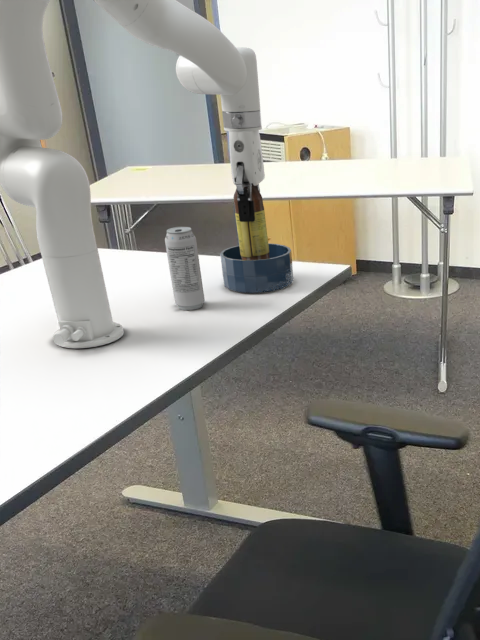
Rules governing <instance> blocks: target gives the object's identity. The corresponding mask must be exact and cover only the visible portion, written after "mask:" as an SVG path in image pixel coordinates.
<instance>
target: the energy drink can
mask: <svg viewBox="0 0 480 640" xmlns="http://www.w3.org/2000/svg"><path fill="white" fill-rule="evenodd" d="M165 232H166V235H165V238H164V243H165V250H166V256H167V262H168V269H169V275H170V281H171V287H172V294H173V300H174V304H175V305H176V306H177V307H178V309H179V310H181V311H194V310H198V309H201V308H202V307H203V306H204V304H203V303H205V302H206V300H205V292H204V285H203V278H202V272H201V265H200V258H199V257H200V255H199V250H198V244H197V238H196V235H195V234H194V232H193V231H192V228H191V227H190V226H175V227H170V228H168V229H166V231H165Z"/></svg>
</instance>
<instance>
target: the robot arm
mask: <svg viewBox="0 0 480 640" xmlns="http://www.w3.org/2000/svg"><path fill="white" fill-rule="evenodd" d="M93 1H94V2H95V3H96V4H97V5H98V6H99V7H100V8H101V9H102V10H104V11H105V12H106V13H107V14H108V15H109V16H110V17H112V18H113V19H114V20H115V21H116V22H117V23H118V24H119V25H120V26H121V27H122V28H124V29H125V31H126V32H128V33H129V34H130V35H131V36H132V37H134V39H136V40H139V41H140V42H143V43H145V44H147V45H150V46H152V47H155V48H159V49H161V50H166V51H168V52H171V53H174V54H176V55H178V58H177V60H176V63H175V74H176V78H177V80H178V82H179V83H180V85H181V86H182V87H183V88H184V89H185V90H187V92H190V93H193V94H195V95H196V94H197V95H208V96H209V95H218V96H219V95H220V103H221V111H222V112H221V113H222V114H221V115H222V124H223V131H224V132H228V145H229V146H228V147H229V159H230V161H229V163H230V171H231V178H232V183H233V184H234V185H235V187H236V188H237V200H238V212H239V220H240V221H241V222H254V221H255V213H254V202H253V200H252V183H253V185H254V186H257V188H258V190H259V192H260V193H261V189H260V188H261V187H260V184H261V183H262V182H263V181H264V180H265V178H266V174H265V167H264V166H265V165H264V156H263V148H262V141H261V135H260V131H261V130H263V126H262V125H263V124H262V113H261V99H260V98H261V97H260V88H259V86H260V85H259V74H258V73H259V71H258V60H257V55H256V52H255V50H254V49H252V48H251V47H236V46H235V45H234V43H233V42H232V41H231V40H230V39H229V38H228V37H227V36H226V35H225V33H223V32H222V31H221V30H220V29H219V28H218V27H217V26H216V25H215V24H213V23H212V22H211V21H209V19H206V18H205V17H203V16H202V15H200V14H199V13H197V12H195V11H194V10H192V9H191V8H189V7H187V6H186V5H184V4H183V3H182V2H179V1H178V0H93ZM50 2H51V0H0V187H1V188H2V190H3V192H4V193H5V194H6V195H7V196H8V197H9V198H10V199H11V200H13V201H14V202H16V203H17V204H20V205H23V206H28V207H31V208H35V213H36V214H35V215H36V217H35V218H36V219H35V231H36V238H37V243H38V248H39V253H40V255H41V260H42V263H43V267H44V271H45V275H46V279H47V284H48V287H49V291H50V295H51V299H52V303H53V307H54V311H55V316H56V319H57V323H58V327H59V329H57V330H56V331H55V332H54V333H53V334H52V339H53V342H54V344H55V345H57V346H58V347H62V348H66V349H88V348H96V347H101V346H105V345H108V344H110V343H113V342H116V341H118V340H119V339H120V338H122V337H123V336H124V334H125V333H124V332H125V331H124V327H123V325H122V324H120V323H119V322H115V321H114V320H113V316H112V311H111V306H110V301H109V296H108V290H107V287H106V283H105V277H104V272H103V268H102V262H101V258H100V253H99V249H98V245H97V240H96V235H95V230H94V229H95V228H94V223H93V217H92V198H91V195H92V194H91V184H90V180H89V177H88V174H87V171H86V170H85V168H84V167H83V165H82V164H81V162H80V161H79V160H78V159H76V158H75V157H74V156H72V155H71V154H69V153H68V152H66V151H63V150H60V149H56V148H50V147H49V148H48V147H43V146H42V142H41V140H42V141H43V140H49V139H52V138H54V137H55V136H56V135H57V134H59V132H60V130H61V129H62V126H63V110H62V105H61V102H60V98H59V94H58V91H57V86H56V83H55V79H54V75H53V72H52V68H51V65H50V61H49V58H48V53H47V49H46V43H45V37H44V30H43V29H44V28H43V27H44V18H45V14H46V10H47V7H48V5H49V3H50ZM244 182H249V184H244ZM246 188H248V192H247V189H246Z"/></svg>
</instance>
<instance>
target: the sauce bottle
mask: <svg viewBox="0 0 480 640" xmlns="http://www.w3.org/2000/svg"><path fill="white" fill-rule="evenodd" d="M244 184H249V182H244ZM246 189H247V192H248V188H246ZM252 200H253V202H254V213H255V221H254V222H241V221H240V220H239V212H238V200H237V187H236V189H235V191H234V194H233V206H234V210H235V211H234V215H235V223H236V230H237V239H238V245H239V247H240V254H241V257H242V260H260V259H268V258H269V245H268V243H269V236H268V228H267V219H266V212H265V206H264V201H263V195H262V194H261V191H260V192H259V190H258V188H257V186H254V185H253V183H252Z"/></svg>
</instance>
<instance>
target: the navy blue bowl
mask: <svg viewBox="0 0 480 640" xmlns="http://www.w3.org/2000/svg"><path fill="white" fill-rule="evenodd" d="M268 245H269V258H268V259H260V260H242V257H241V254H240V247H239V244H238V245H235V246H230V247H228V248H225V249H222V250H221V252H219V256H220V263H221V271H222V279H223V280H222V281H223V285H224V287H225V288H226V289H228V290H231V291H232V292H236V293H240V294H241V293H242V294H266V293H272V292H276V291H280V290H283V289H285V288H287V287H288V286H290V285H292V284H293V282H294V269H293V255H292V249H291V247H289V246H287V245H285V244H279V243H269V242H268Z"/></svg>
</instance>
